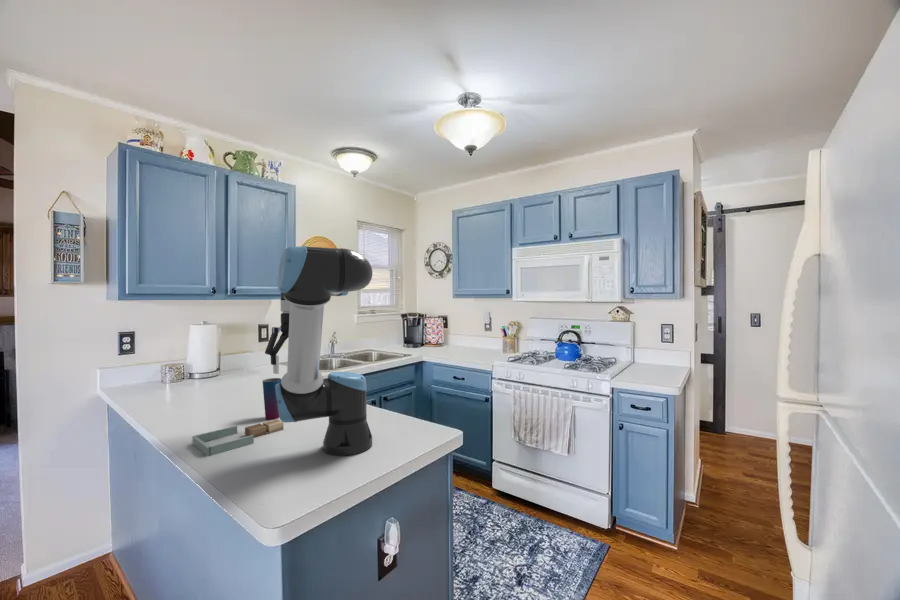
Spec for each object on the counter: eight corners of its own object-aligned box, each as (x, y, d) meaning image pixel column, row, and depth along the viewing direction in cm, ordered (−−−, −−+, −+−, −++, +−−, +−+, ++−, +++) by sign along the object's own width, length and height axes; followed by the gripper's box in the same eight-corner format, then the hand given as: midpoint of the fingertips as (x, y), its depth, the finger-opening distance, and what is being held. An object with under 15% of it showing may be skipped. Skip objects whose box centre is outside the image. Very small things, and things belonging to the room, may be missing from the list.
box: (253, 443, 124) (253, 435, 124) (207, 456, 114) (207, 447, 114) (236, 432, 134) (236, 425, 134) (192, 443, 124) (192, 436, 124)
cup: (274, 421, 146) (274, 382, 146) (258, 420, 147) (258, 381, 147) (285, 415, 153) (285, 378, 152) (270, 414, 154) (270, 377, 154)
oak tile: (283, 430, 137) (283, 422, 137) (269, 434, 133) (269, 425, 133) (276, 427, 140) (276, 419, 140) (262, 431, 136) (262, 422, 136)
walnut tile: (266, 435, 132) (266, 426, 132) (251, 439, 128) (251, 430, 128) (259, 431, 135) (259, 423, 135) (245, 436, 131) (244, 427, 131)
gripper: (315, 311, 153) (316, 365, 153) (254, 313, 135) (254, 374, 135) (325, 311, 148) (326, 367, 148) (263, 313, 130) (264, 377, 130)
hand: (292, 371), depth 141 cm, fingers open, 11 cm apart
